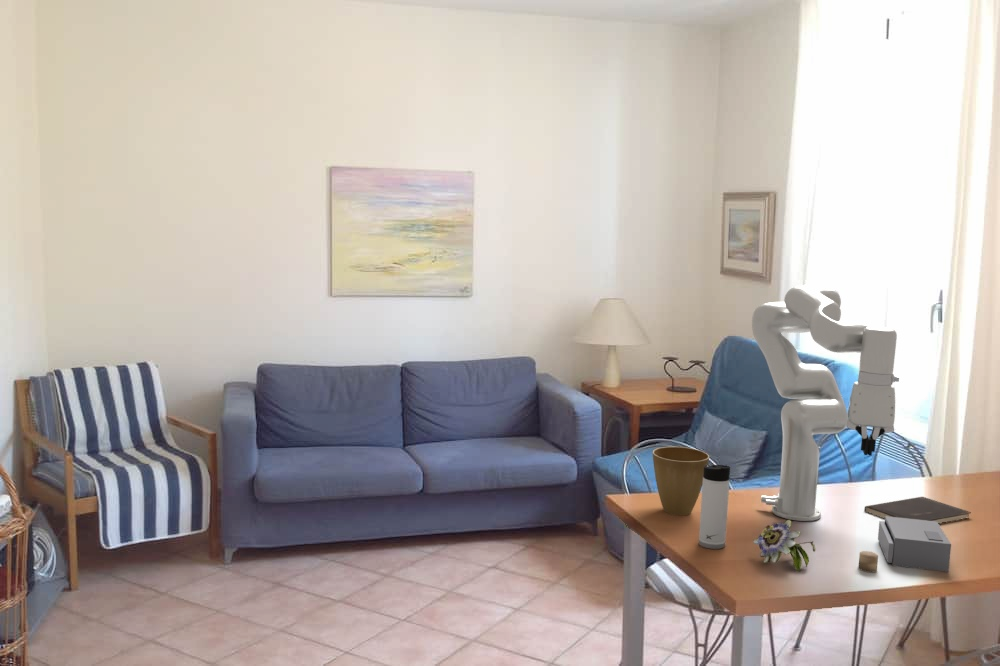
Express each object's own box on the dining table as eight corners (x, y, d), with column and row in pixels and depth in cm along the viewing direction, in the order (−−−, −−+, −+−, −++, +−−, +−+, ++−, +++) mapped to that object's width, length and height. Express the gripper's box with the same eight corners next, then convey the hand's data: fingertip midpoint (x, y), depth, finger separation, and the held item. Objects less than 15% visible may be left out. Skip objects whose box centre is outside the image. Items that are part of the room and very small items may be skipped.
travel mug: (711, 551, 229) (716, 469, 226) (693, 542, 235) (698, 462, 232) (731, 547, 232) (737, 466, 229) (713, 539, 237) (718, 460, 235)
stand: (859, 570, 219) (860, 556, 219) (857, 564, 223) (858, 550, 223) (877, 573, 218) (879, 558, 218) (875, 566, 222) (877, 552, 222)
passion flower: (765, 585, 223) (741, 537, 227) (798, 569, 228) (773, 522, 232) (795, 574, 214) (769, 523, 217) (828, 557, 219) (802, 508, 223)
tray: (887, 562, 224) (889, 543, 223) (877, 538, 240) (879, 521, 240) (944, 568, 221) (945, 549, 220) (930, 544, 237) (932, 526, 237)
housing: (892, 565, 224) (895, 537, 223) (882, 541, 240) (885, 515, 239) (948, 571, 221) (951, 543, 220) (934, 547, 237) (937, 520, 236)
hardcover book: (970, 520, 262) (971, 512, 262) (913, 531, 251) (914, 522, 251) (919, 503, 276) (920, 495, 276) (863, 513, 265) (864, 505, 265)
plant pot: (640, 504, 264) (643, 447, 262) (689, 501, 268) (693, 445, 266) (664, 521, 249) (667, 461, 247) (715, 518, 254) (719, 459, 252)
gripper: (906, 378, 230) (898, 453, 233) (840, 373, 234) (833, 446, 236) (911, 384, 223) (902, 461, 226) (843, 379, 226) (835, 454, 229)
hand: (867, 453), depth 231 cm, fingers closed
